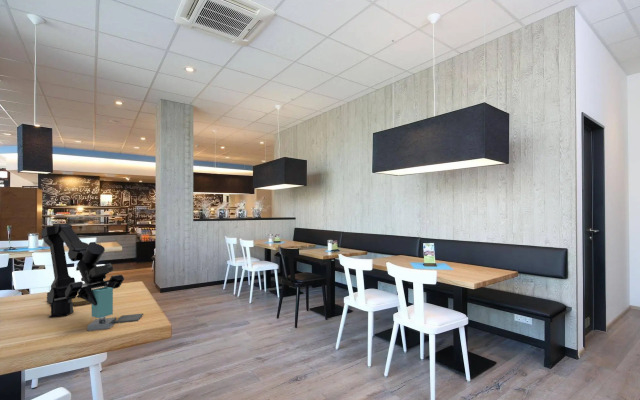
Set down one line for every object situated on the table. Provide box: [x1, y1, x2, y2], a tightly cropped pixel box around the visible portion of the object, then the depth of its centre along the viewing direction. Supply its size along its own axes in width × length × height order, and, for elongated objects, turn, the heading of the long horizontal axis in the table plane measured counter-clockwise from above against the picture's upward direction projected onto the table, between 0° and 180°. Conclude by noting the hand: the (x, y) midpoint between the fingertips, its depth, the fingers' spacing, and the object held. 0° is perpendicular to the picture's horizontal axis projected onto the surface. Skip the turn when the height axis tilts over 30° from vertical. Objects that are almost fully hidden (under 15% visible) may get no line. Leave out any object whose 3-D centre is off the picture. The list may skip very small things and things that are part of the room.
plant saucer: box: [72, 295, 91, 307], centre depth 157 cm, size 15×15×3 cm
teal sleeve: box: [91, 287, 114, 319], centre depth 121 cm, size 5×5×10 cm
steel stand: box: [87, 316, 117, 332], centre depth 121 cm, size 7×7×5 cm
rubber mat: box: [115, 313, 144, 324], centre depth 129 cm, size 8×8×1 cm
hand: (104, 302), depth 121 cm, fingers closed on teal sleeve, 5 cm apart
